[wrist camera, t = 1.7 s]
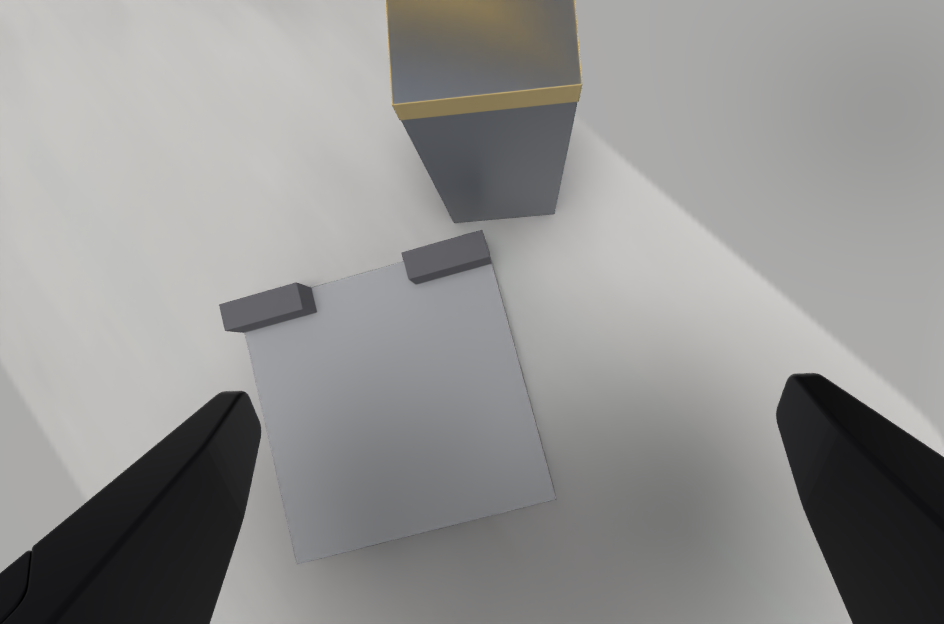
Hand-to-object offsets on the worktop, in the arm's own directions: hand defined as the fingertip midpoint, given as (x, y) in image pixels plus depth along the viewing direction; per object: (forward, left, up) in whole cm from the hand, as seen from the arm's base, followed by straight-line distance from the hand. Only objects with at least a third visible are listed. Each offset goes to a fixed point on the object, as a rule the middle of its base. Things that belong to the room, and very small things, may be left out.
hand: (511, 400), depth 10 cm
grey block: (+8, -3, -13) cm, 15 cm away
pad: (+2, +5, -13) cm, 14 cm away
